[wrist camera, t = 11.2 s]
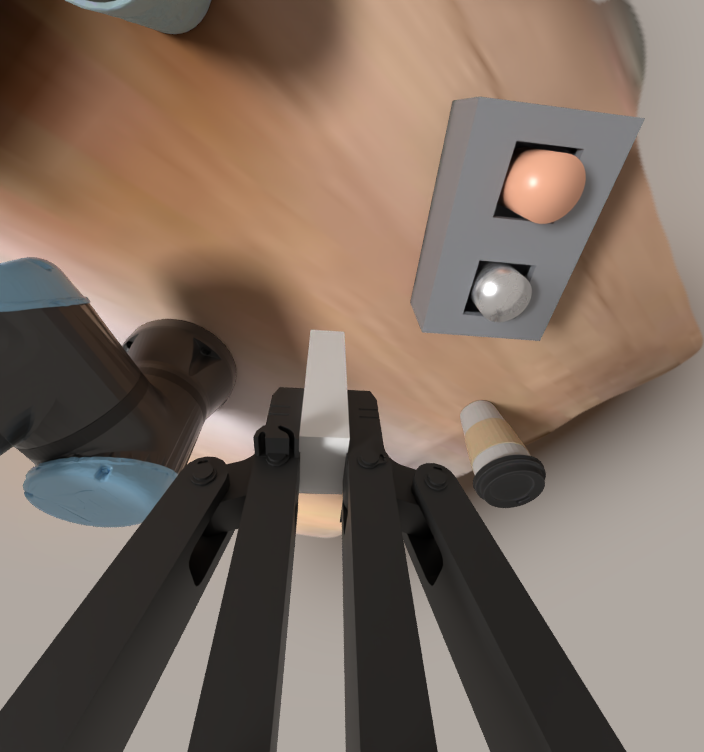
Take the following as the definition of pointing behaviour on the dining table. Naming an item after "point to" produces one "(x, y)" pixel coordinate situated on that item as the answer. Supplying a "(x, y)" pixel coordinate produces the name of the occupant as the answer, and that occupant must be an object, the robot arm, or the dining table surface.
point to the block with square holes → (509, 211)
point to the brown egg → (542, 184)
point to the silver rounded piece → (499, 291)
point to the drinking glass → (152, 12)
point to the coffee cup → (499, 458)
